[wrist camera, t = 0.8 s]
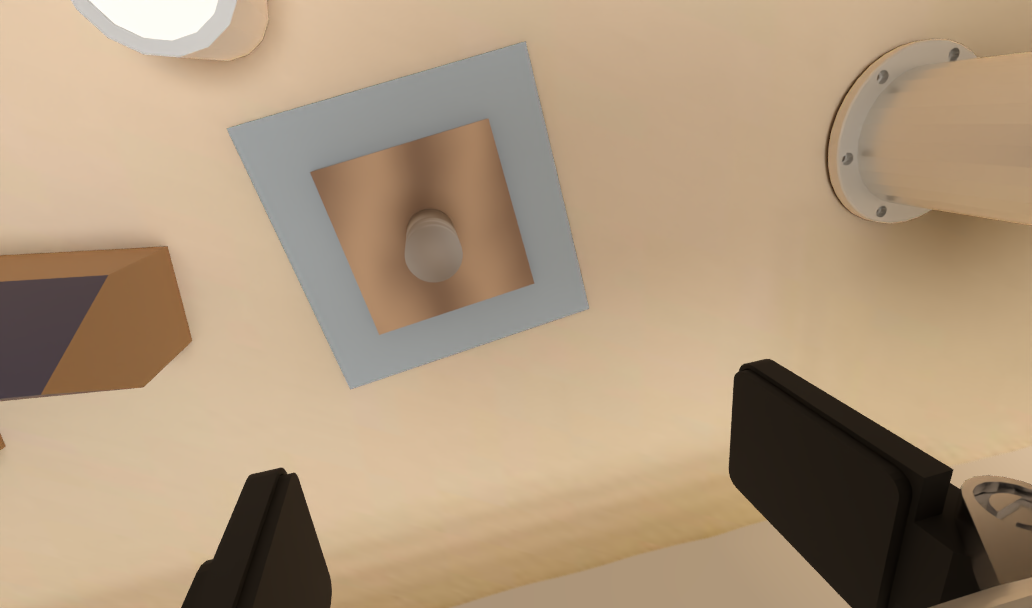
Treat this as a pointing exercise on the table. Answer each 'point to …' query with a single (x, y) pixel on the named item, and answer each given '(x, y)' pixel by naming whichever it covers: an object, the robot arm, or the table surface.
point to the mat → (391, 122)
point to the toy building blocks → (87, 321)
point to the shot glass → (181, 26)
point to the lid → (426, 225)
